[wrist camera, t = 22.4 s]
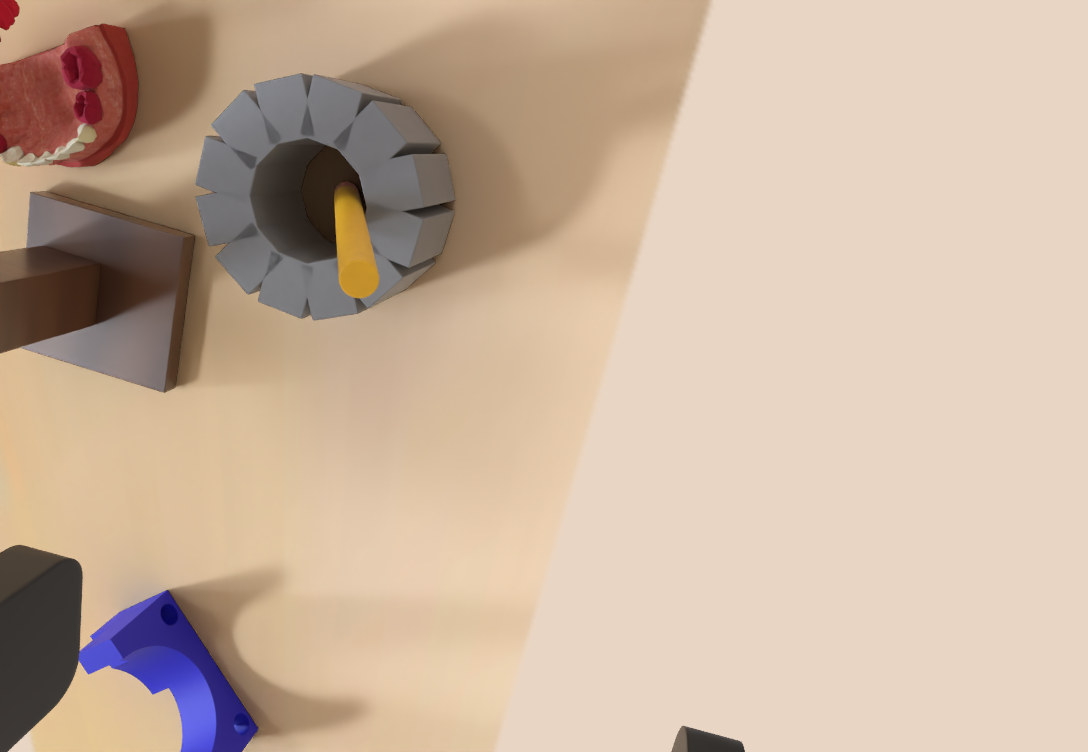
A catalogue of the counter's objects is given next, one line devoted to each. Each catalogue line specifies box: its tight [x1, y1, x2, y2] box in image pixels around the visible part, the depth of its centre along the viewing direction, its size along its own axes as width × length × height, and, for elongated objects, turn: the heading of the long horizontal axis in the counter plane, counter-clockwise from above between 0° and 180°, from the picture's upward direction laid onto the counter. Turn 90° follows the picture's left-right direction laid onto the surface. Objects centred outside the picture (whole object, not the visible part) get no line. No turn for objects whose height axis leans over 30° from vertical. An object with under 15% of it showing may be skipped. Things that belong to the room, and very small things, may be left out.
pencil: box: [334, 182, 379, 298], centre depth 38 cm, size 20×1×1 cm
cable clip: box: [79, 590, 258, 752], centre depth 55 cm, size 12×4×6 cm, turn 28°
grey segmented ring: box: [196, 74, 455, 320], centre depth 44 cm, size 12×12×6 cm
